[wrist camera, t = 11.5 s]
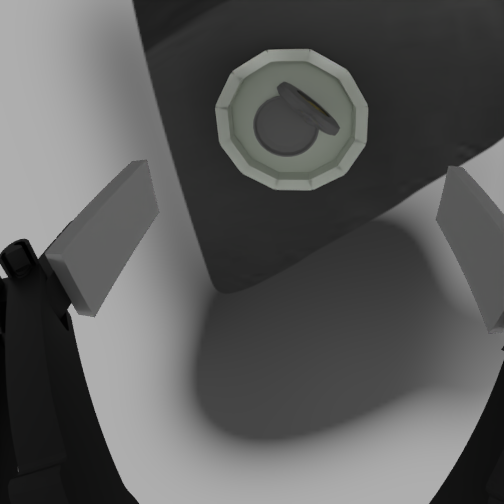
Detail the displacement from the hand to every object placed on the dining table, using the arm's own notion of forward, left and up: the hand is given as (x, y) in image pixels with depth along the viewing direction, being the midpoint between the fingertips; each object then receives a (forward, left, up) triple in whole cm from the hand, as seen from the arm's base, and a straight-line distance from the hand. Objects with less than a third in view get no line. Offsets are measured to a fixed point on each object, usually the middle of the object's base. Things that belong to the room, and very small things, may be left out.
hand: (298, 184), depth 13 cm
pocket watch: (+2, -1, -21) cm, 21 cm away
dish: (+2, -1, -22) cm, 22 cm away
